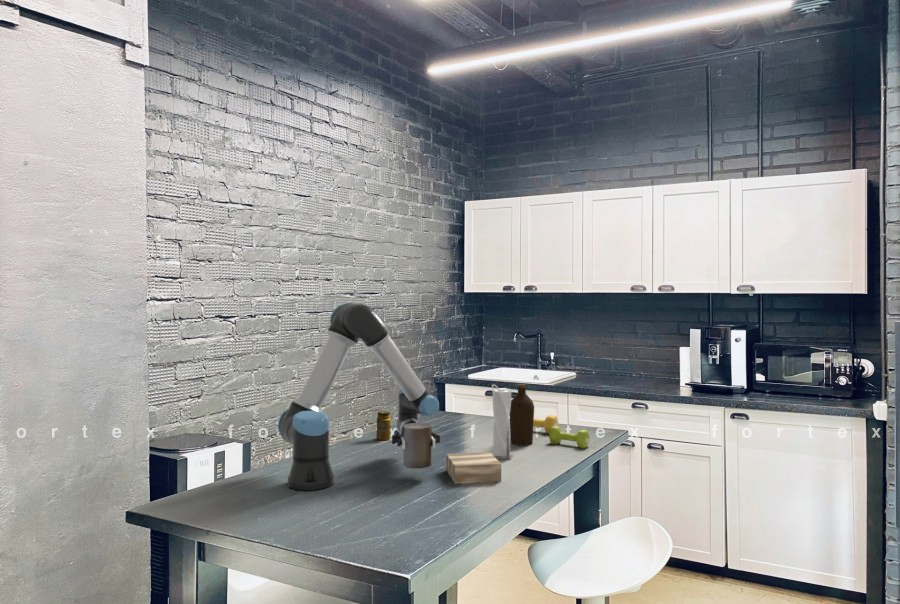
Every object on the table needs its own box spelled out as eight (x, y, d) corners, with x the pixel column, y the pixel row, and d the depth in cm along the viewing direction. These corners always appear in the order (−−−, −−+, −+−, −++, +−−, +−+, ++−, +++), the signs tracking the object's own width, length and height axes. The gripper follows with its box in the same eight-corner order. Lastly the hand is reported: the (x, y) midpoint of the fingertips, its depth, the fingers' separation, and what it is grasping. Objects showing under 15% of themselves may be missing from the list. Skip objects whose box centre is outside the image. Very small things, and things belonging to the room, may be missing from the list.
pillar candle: (436, 463, 220) (436, 420, 220) (423, 470, 211) (423, 425, 212) (411, 460, 224) (411, 418, 224) (397, 466, 216) (398, 422, 216)
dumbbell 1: (513, 431, 294) (514, 413, 294) (522, 427, 302) (522, 410, 302) (551, 436, 284) (551, 417, 284) (559, 432, 292) (559, 414, 292)
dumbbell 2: (591, 446, 265) (591, 429, 265) (583, 450, 259) (583, 432, 259) (555, 440, 275) (555, 424, 275) (547, 444, 268) (547, 427, 268)
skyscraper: (488, 457, 246) (488, 385, 245) (493, 452, 253) (493, 382, 253) (510, 459, 243) (510, 386, 243) (514, 454, 251) (514, 383, 251)
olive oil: (537, 445, 266) (538, 385, 266) (514, 446, 264) (514, 386, 263) (528, 439, 277) (528, 382, 276) (505, 440, 274) (505, 383, 274)
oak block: (501, 481, 215) (501, 463, 215) (454, 483, 212) (454, 465, 212) (489, 468, 231) (489, 452, 231) (446, 470, 228) (446, 453, 228)
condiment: (394, 438, 278) (394, 411, 277) (384, 443, 270) (384, 414, 270) (379, 437, 280) (379, 410, 280) (369, 441, 273) (369, 413, 272)
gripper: (440, 440, 238) (451, 454, 216) (380, 441, 234) (386, 456, 212) (440, 420, 238) (451, 432, 216) (381, 421, 234) (386, 434, 212)
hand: (419, 444), depth 214 cm, fingers closed on pillar candle, 9 cm apart
